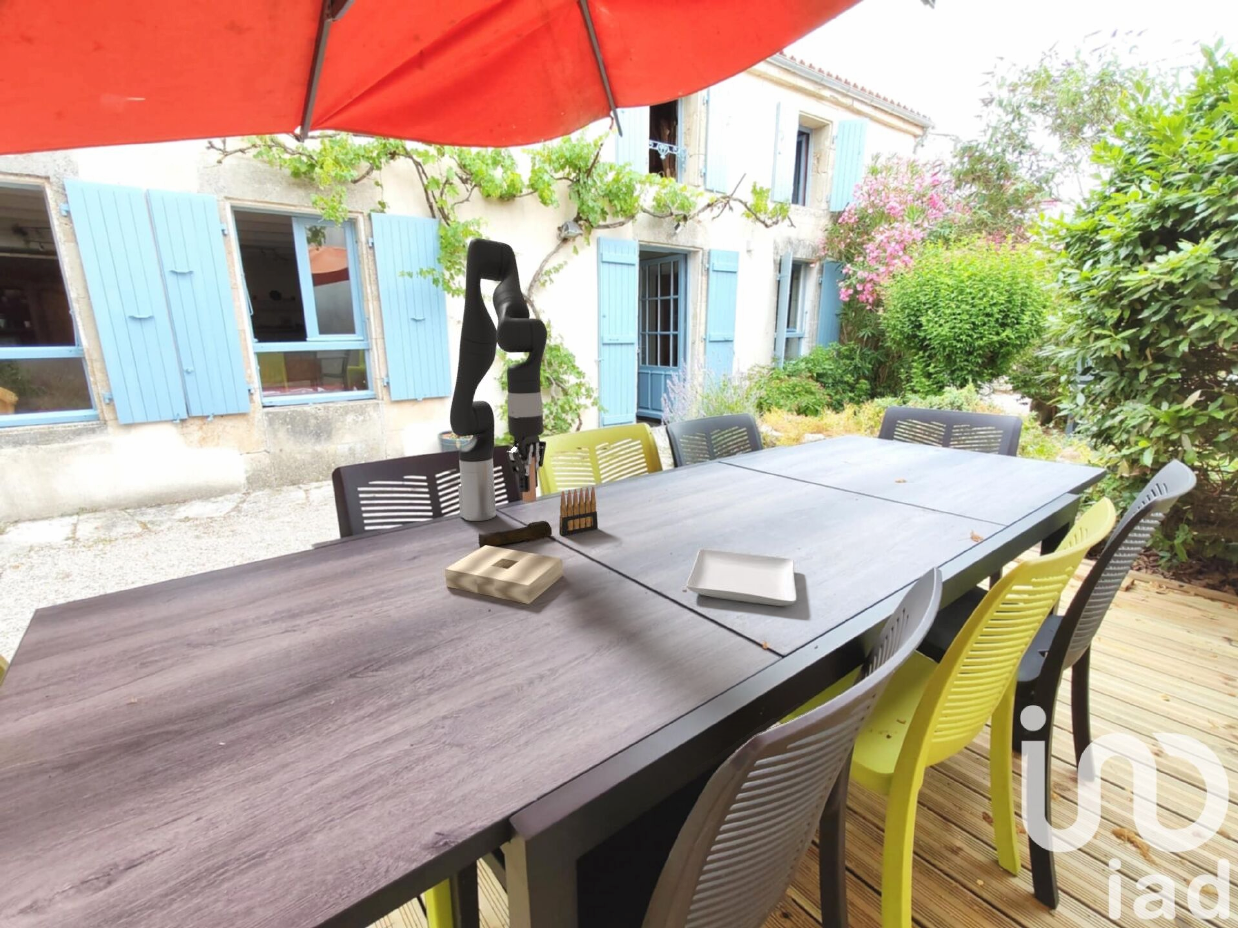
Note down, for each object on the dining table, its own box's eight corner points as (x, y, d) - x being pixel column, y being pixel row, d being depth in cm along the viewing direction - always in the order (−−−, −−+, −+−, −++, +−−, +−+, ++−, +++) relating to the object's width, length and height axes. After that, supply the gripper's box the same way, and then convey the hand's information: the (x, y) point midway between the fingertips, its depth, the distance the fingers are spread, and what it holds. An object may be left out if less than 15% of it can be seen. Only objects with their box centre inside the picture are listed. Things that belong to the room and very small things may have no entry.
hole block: (446, 586, 114) (445, 568, 113) (486, 561, 127) (485, 545, 126) (528, 604, 107) (528, 585, 106) (562, 575, 120) (562, 558, 119)
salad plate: (792, 570, 123) (793, 556, 122) (795, 616, 103) (797, 600, 102) (698, 560, 129) (699, 546, 128) (684, 601, 109) (684, 586, 108)
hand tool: (481, 552, 133) (480, 534, 132) (477, 547, 136) (477, 529, 135) (555, 540, 141) (554, 523, 140) (549, 535, 144) (549, 518, 143)
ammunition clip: (594, 527, 150) (594, 484, 147) (598, 529, 148) (597, 486, 145) (559, 534, 144) (558, 490, 142) (562, 536, 143) (561, 492, 140)
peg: (520, 501, 122) (518, 458, 120) (527, 497, 125) (525, 455, 123) (532, 502, 121) (530, 459, 119) (538, 499, 124) (536, 456, 122)
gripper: (526, 408, 126) (530, 480, 130) (492, 416, 114) (496, 496, 118) (555, 409, 124) (558, 483, 128) (523, 418, 111) (527, 499, 115)
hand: (528, 489), depth 123 cm, fingers closed on peg, 3 cm apart
